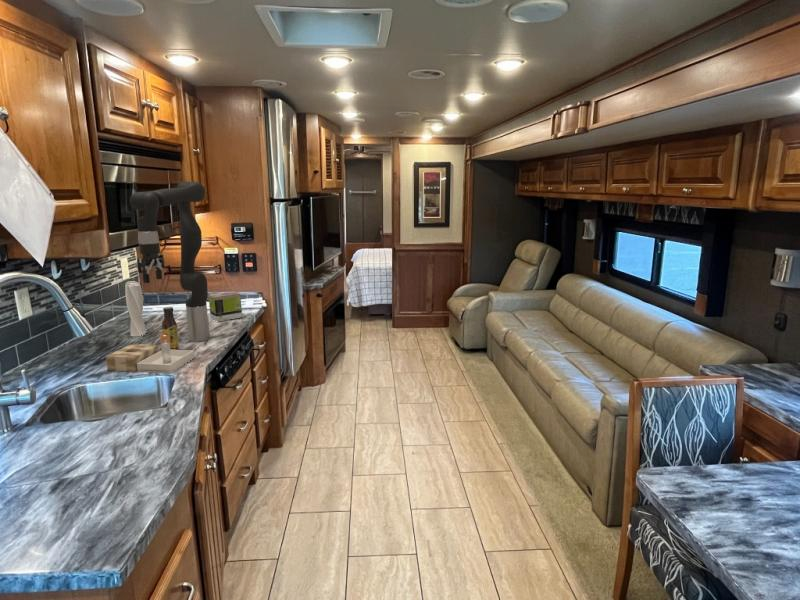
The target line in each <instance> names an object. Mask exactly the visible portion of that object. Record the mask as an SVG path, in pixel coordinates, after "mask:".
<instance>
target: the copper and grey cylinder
mask: <svg viewBox="0 0 800 600" xmlns="http://www.w3.org/2000/svg"><path fill="white" fill-rule="evenodd" d="M159 338H160V346H161V350H162V358H163V363H164V364H167V363H171V352H170V340H169V334H162V333H161V334H160V337H159Z"/></svg>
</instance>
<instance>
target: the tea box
mask: <svg viewBox="0 0 800 600" xmlns="http://www.w3.org/2000/svg"><path fill="white" fill-rule="evenodd" d="M208 303H209V305H208V306H209V313H210V319H211V318H212V319H213V320H215V321H222V322H224V321H223V320H228V321H230V320H229V319H234V318H239V317H242V318H243V309H242V297H241V293H239V292H237V291H233V290H232V291H226V292H219V293H213V294H211V293H210V294H208ZM212 319H211V320H212ZM213 320H212V321H213ZM234 320H235V319H234ZM215 321H214V322H215Z"/></svg>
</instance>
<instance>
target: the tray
mask: <svg viewBox="0 0 800 600" xmlns="http://www.w3.org/2000/svg"><path fill="white" fill-rule="evenodd" d="M170 352H171V363H167V364H164V363H163V358H162V349H161V350H159V352H157V353H155V354H154V355H152V356H150V357H148V358H146V359H144V360H142V361H141V362H139V363H137V369H138V370H137V373H139V372H140V373H159V374H172V373H174V372H175V371H177V370H178V369H180V368H182V367H183V366H185V365H186V364H188V363H190V362H191V361H193V360H194V359H195V351H194V350H188V349H178V350H170ZM193 358H194V359H193ZM192 359H193V360H192ZM190 360H191V361H190ZM187 362H188V363H187ZM184 364H185V365H184Z"/></svg>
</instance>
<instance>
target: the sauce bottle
mask: <svg viewBox="0 0 800 600" xmlns="http://www.w3.org/2000/svg"><path fill="white" fill-rule="evenodd" d="M162 311H163V317H164V318H163V320H162V322H161V327H162V328H161V331H162V333H161V334H169V340H170V350H179V347H180V345H179V334H178V323H177V321H176V319H175V317H174V316H175V315H174V307H173V306H165V307H163V308H162Z"/></svg>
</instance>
